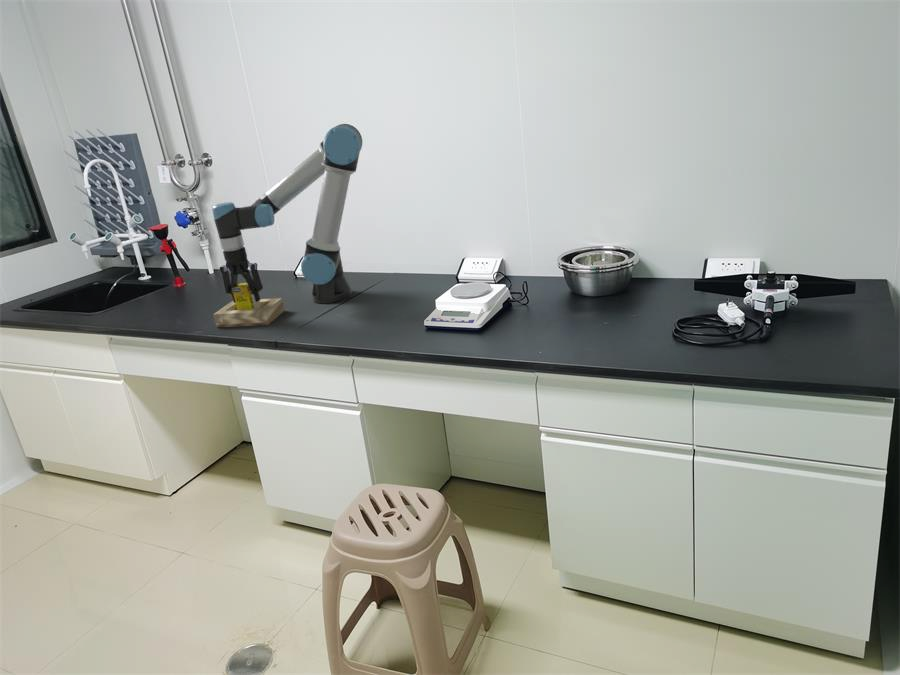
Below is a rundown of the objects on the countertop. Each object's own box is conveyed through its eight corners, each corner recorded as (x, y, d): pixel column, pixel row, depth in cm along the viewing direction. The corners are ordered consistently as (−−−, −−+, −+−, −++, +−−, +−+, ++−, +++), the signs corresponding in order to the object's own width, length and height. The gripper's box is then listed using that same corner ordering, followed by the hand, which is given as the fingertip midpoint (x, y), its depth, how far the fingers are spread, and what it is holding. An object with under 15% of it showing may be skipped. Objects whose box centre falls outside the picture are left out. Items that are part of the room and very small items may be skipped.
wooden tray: (284, 310, 237) (281, 298, 236) (268, 325, 225) (264, 311, 223) (235, 313, 242) (232, 300, 240) (216, 327, 229) (213, 314, 227)
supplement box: (254, 316, 229) (246, 287, 225) (239, 317, 230) (231, 288, 226) (261, 310, 235) (254, 281, 230) (246, 311, 236) (239, 283, 232)
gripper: (263, 243, 225) (277, 305, 233) (214, 247, 229) (230, 308, 237) (253, 249, 218) (268, 312, 227) (203, 253, 222) (220, 315, 231)
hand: (249, 310), depth 232 cm, fingers closed on supplement box, 6 cm apart
